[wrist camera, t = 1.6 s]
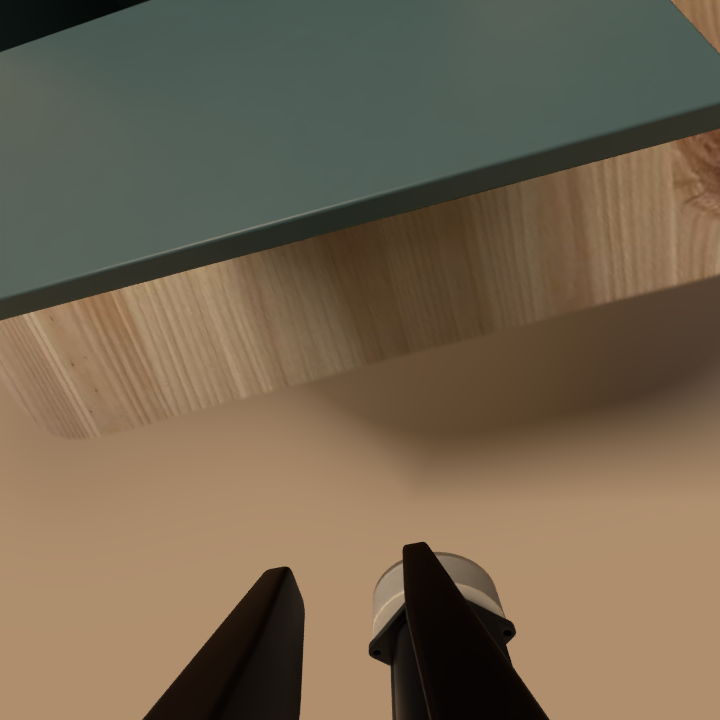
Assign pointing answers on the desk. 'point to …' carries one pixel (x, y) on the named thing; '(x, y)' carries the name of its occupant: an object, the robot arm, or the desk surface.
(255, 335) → the desk surface
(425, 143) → the flap
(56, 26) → the carton
